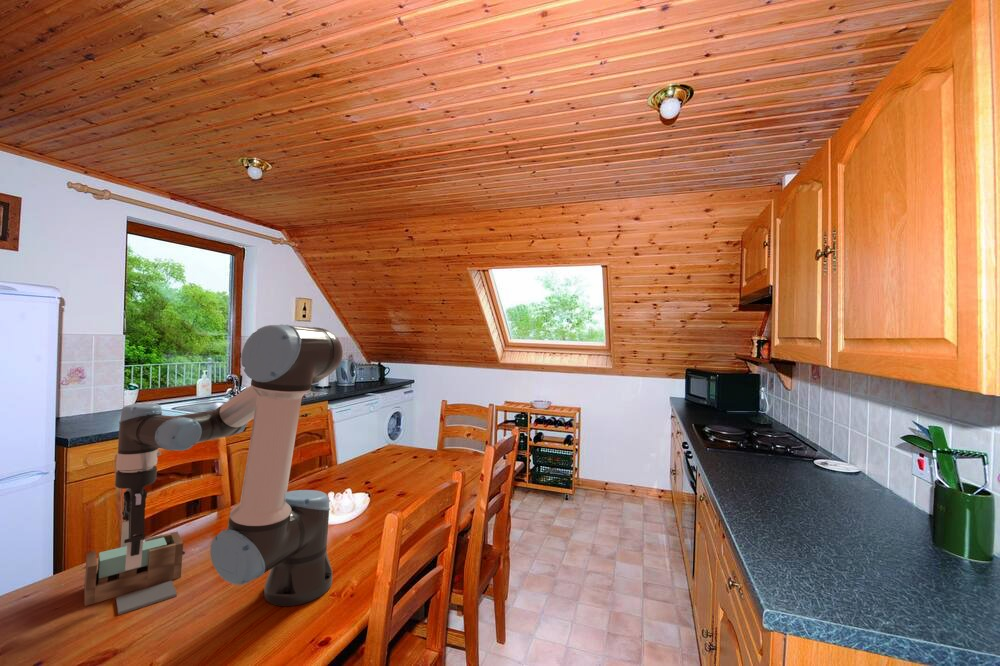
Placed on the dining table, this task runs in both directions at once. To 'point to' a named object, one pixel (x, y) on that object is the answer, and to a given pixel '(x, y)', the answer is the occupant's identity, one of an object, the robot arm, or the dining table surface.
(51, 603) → the dining table surface
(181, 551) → the walnut jig
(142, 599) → the slate pad
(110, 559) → the teal block
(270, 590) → the robot arm
